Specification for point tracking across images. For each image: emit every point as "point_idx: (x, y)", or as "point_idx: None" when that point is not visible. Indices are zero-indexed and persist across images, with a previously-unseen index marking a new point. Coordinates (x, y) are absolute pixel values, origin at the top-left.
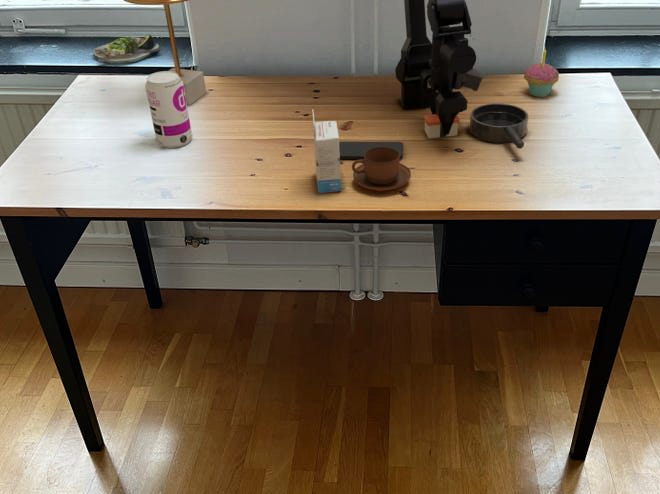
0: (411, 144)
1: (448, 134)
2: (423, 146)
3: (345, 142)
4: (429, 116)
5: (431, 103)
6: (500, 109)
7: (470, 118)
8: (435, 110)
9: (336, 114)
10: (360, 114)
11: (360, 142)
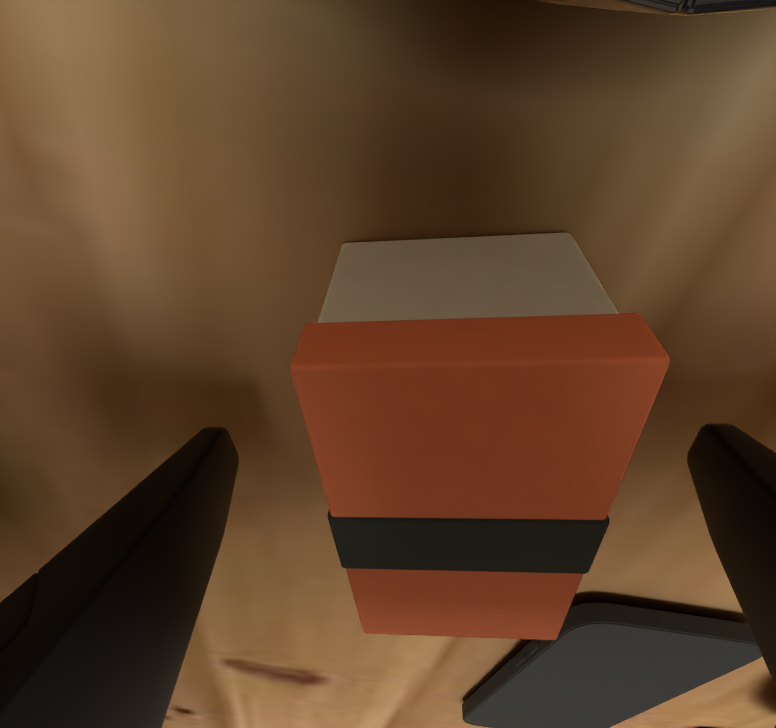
0: None
1: (728, 425)
2: (644, 518)
3: (477, 716)
4: (407, 614)
5: (167, 666)
6: None
7: (635, 9)
8: (197, 534)
9: None
10: None
11: (499, 699)
